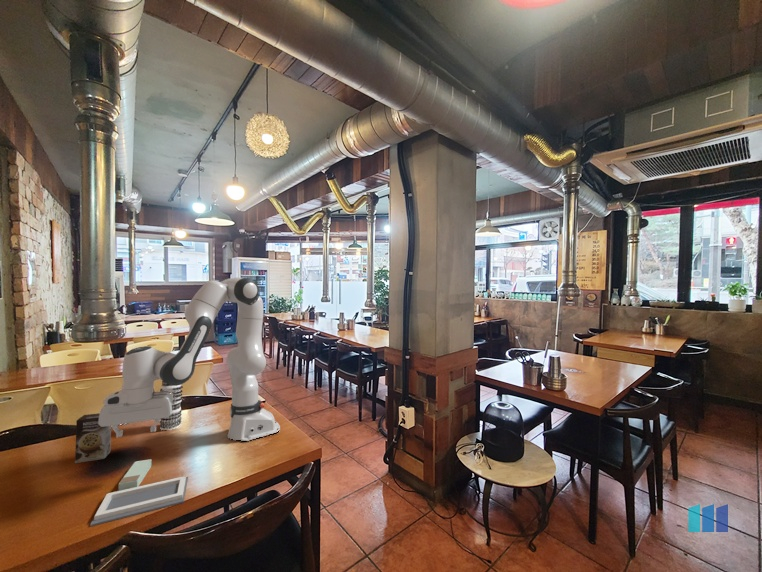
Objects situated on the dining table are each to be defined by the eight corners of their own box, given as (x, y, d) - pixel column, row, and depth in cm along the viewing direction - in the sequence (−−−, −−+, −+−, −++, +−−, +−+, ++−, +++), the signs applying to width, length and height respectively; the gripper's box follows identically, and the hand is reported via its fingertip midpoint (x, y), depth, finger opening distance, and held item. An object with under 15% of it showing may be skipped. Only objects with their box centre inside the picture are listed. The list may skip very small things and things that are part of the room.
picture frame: (187, 478, 109) (187, 473, 109) (183, 502, 96) (183, 497, 96) (106, 496, 99) (106, 491, 99) (90, 526, 86) (90, 520, 86)
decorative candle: (182, 421, 155) (183, 371, 156) (182, 428, 148) (183, 375, 148) (159, 425, 151) (161, 373, 151) (158, 432, 143) (159, 378, 143)
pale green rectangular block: (151, 467, 116) (151, 458, 116) (137, 489, 103) (137, 480, 103) (135, 469, 114) (135, 461, 114) (118, 493, 101) (118, 483, 101)
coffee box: (74, 463, 117) (75, 420, 117) (82, 455, 123) (83, 414, 123) (104, 458, 121) (105, 417, 121) (111, 451, 126) (112, 411, 127)
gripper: (174, 387, 117) (173, 425, 116) (103, 395, 107) (102, 435, 107) (172, 392, 111) (171, 431, 111) (97, 401, 102) (95, 443, 101)
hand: (136, 433), depth 109 cm, fingers open, 8 cm apart
